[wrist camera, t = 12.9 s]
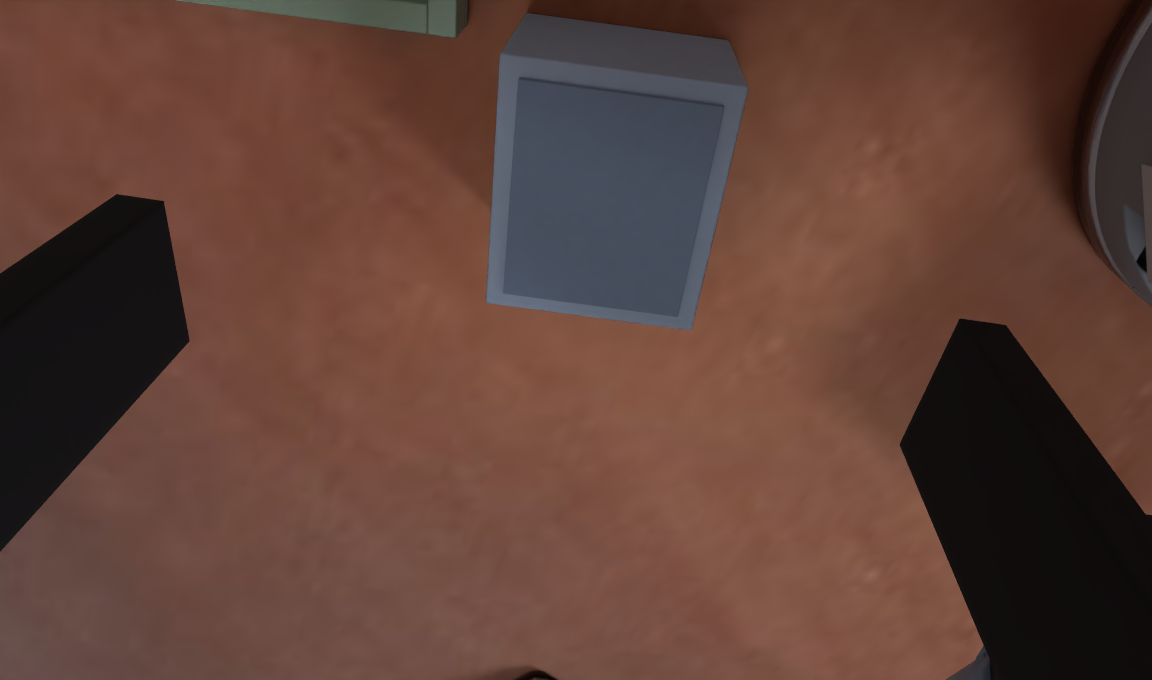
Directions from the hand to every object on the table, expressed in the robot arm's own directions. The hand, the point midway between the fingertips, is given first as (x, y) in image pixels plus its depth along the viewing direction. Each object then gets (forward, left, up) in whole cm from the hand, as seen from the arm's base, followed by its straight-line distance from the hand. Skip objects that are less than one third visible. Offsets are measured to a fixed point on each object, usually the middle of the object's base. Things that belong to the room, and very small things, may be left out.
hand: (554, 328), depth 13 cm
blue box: (-1, +1, -13) cm, 13 cm away
